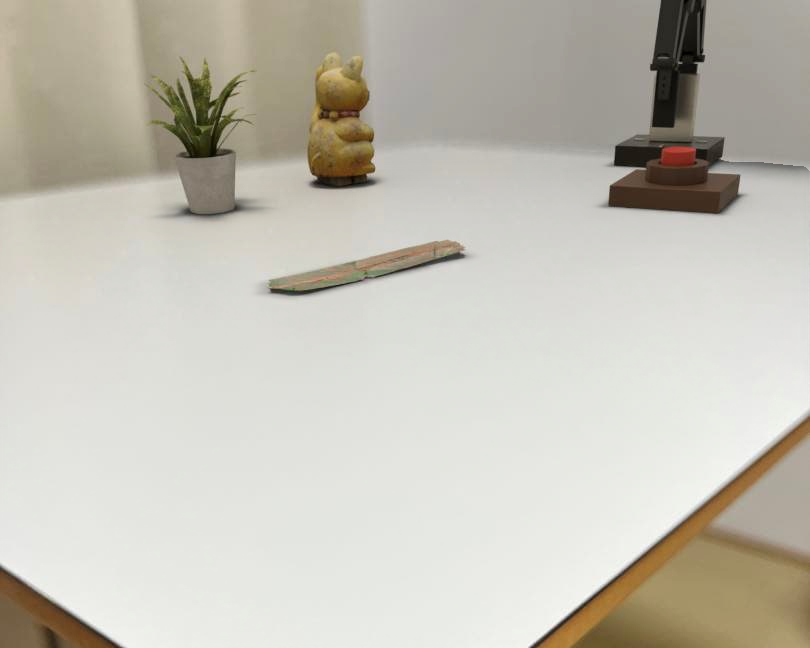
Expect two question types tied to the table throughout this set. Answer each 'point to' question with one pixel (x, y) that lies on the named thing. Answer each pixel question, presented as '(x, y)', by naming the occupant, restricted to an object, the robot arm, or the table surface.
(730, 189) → the switch block
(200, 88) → the house plant
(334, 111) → the decorative figurine
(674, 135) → the white upright block
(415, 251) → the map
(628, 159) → the dial panel
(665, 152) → the power button
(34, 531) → the table surface
